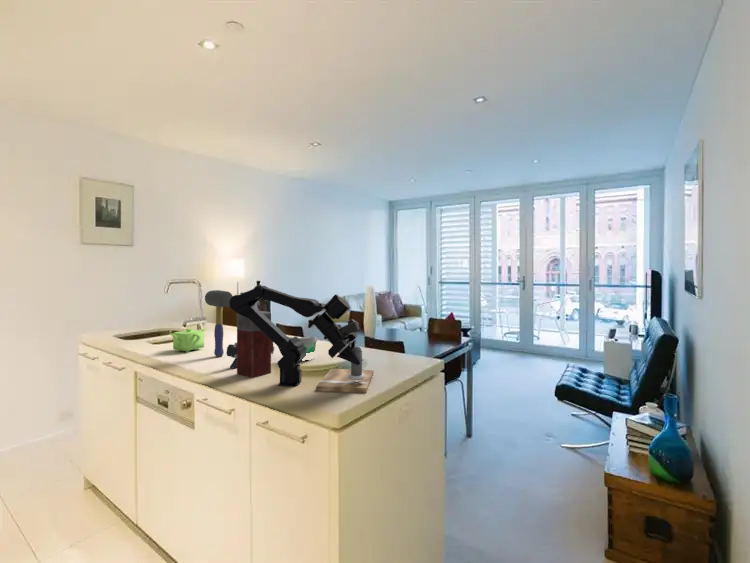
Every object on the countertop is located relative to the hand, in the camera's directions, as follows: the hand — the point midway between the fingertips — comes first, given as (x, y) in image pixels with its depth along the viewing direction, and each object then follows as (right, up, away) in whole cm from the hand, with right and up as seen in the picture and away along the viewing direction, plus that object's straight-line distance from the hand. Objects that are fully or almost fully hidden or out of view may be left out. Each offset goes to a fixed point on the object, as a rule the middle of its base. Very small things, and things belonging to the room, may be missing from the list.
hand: (360, 362), depth 131 cm
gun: (-47, -8, +33) cm, 58 cm away
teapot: (-86, -6, +59) cm, 104 cm away
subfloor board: (-5, -8, +7) cm, 12 cm away
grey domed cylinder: (-1, -5, 0) cm, 5 cm away
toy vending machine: (-40, -8, +18) cm, 45 cm away
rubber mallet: (-66, -7, +46) cm, 80 cm away
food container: (-26, -7, +40) cm, 48 cm away
